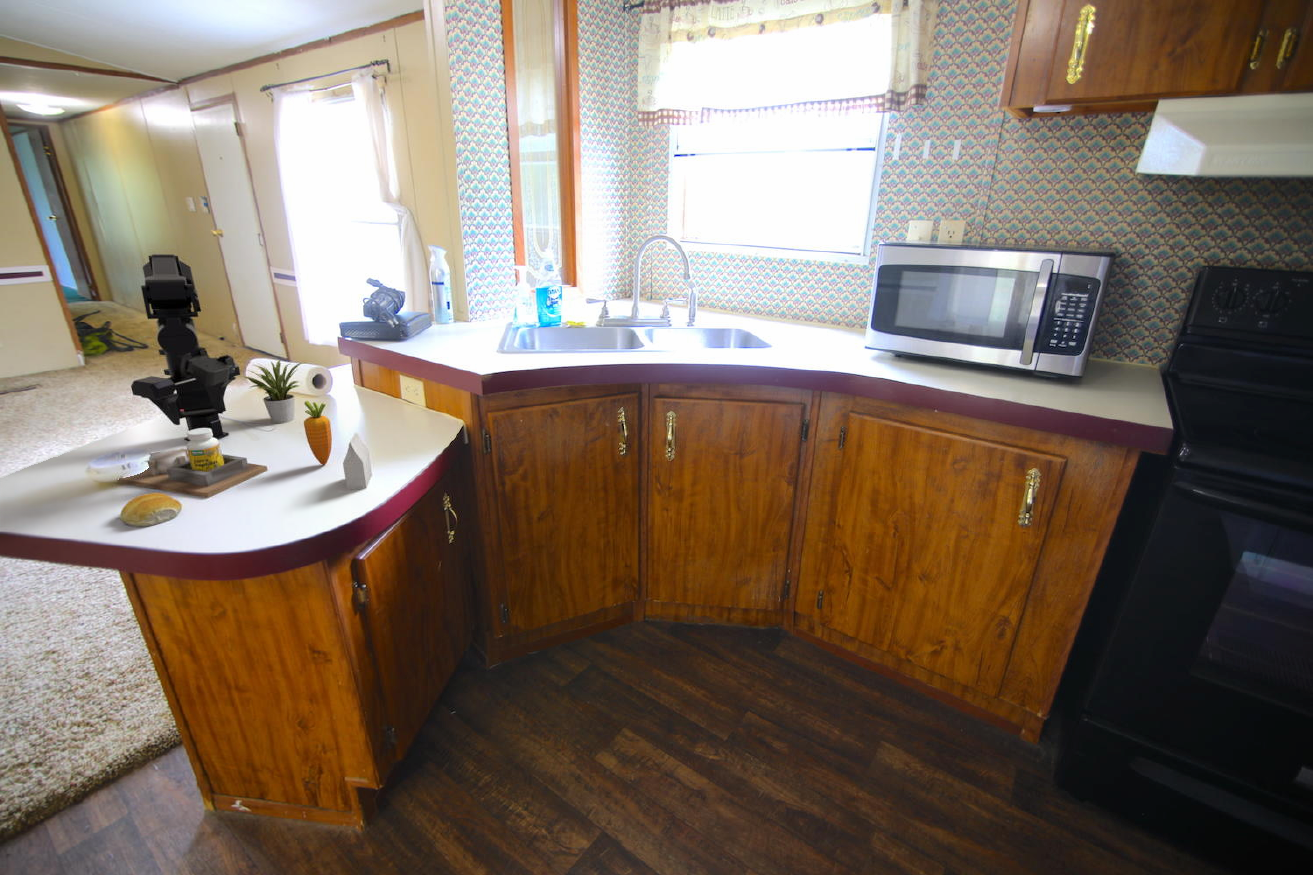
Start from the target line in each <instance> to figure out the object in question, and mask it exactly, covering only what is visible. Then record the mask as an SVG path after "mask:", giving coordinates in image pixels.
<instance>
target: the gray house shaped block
mask: <svg viewBox="0 0 1313 875" xmlns="http://www.w3.org/2000/svg"><path fill="white" fill-rule="evenodd" d="M342 466H343V474H344V479H345V486H346V490H361V489H363V490H364V489H368V486H369V484H370V480H371V478H372V476H373V472H372V466H371V457H370V450H369V448H368V447H367V446H366V444H365V443H364V442H363V440H362V439H361V437H360V436H359V434H358V432H354V435H352V438H351V439H350V442H349V443H348V448H347V452H346V453H345V457H344V458H343V462H342Z"/></svg>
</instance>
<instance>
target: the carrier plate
mask: <svg viewBox="0 0 1313 875" xmlns="http://www.w3.org/2000/svg"><path fill="white" fill-rule="evenodd" d="M222 456H223V461H224V465H222V466H219V467H217V468H215V469H212V470H210V471H207V472H202V471H196V470H192V466H191V462H190V459H189V455H188V451H187V448H180V449H169V450H167V449H166V450H163V451H154V452H152V453H150V456H148V460H147V461H146V462H147V465H148V466H149V468H148V469H147V470H145V471H144V472H142V473H140V474H137V475H134V476H130V477H126V478H119V477H118V478H119V480H117V483H118V484H125V485H129V486H136V487H143V488H147V489H148V488H149V489H154V490H159V491H165V492H173V493H176V494H177V493H179V494H184V495H190V496H197V497H201V498H208V499H209V498H210V497H213V496H215V495H217V494H219V493H221V492H224V491H226V490H229V489H230V488H232V487H234V486H237V485H239V484H241V483H244V482H245V481H247V480H250V479H252V478H255V477H257V476H258V475H260V473H261V474H263V473H265V472H267V471H268V466H267V465H262V464H255V463H248V458H247V457H242V456H237V455H229V454H223V453H222ZM148 466H147V467H148ZM264 471H265V472H264ZM262 472H263V473H262Z"/></svg>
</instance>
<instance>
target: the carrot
mask: <svg viewBox="0 0 1313 875" xmlns="http://www.w3.org/2000/svg"><path fill="white" fill-rule="evenodd" d="M312 404H313V405H312ZM312 404H311V402H310V401H309V400H305V401H304V405H305V406H306V408H307V409H308V410H307V409H306V410H305V411H304V413H306V414H308V415H310V416H308V417H306V419H305V420H304V421H303V427H304V431H305V435H306V436H305V437H306V440H307V443H308V445H309V448H310V451H311V452H312V454H313V456H314V458H315V459H316V460H317V461H318V462H319V464H321V465H322V466H325V465H326V464H328V461H329V458H330V457H331V456H330V455H331V452H332V442H333V441H332V440H333V438H332V429H331V421H330V418H328V417H326V416H325V415H322V413H323V410H324V408H326V407H325V406H326V403H324V402H322V403H321V404H320V406H319V404H318V403H317V402H315V401H314V402H312Z"/></svg>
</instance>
